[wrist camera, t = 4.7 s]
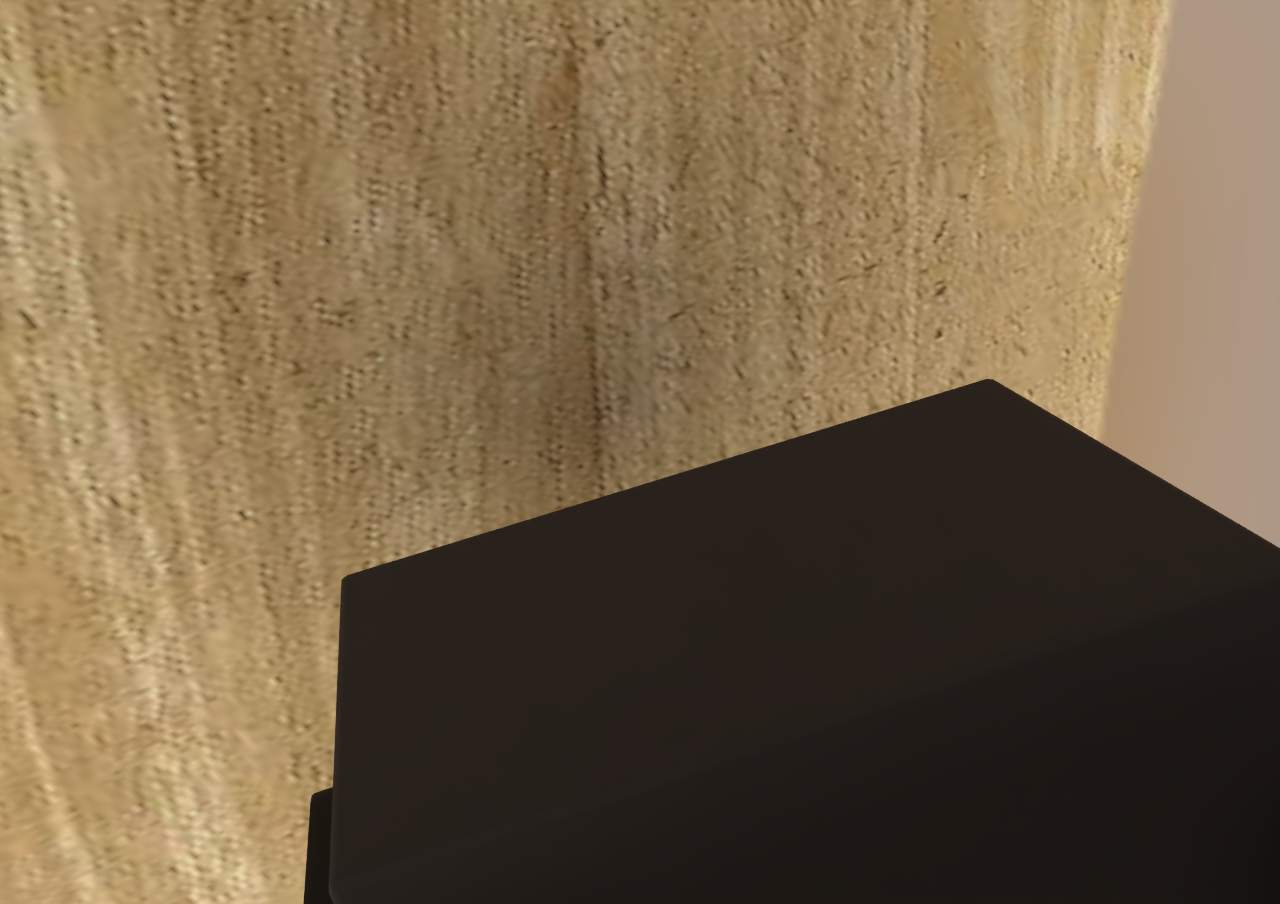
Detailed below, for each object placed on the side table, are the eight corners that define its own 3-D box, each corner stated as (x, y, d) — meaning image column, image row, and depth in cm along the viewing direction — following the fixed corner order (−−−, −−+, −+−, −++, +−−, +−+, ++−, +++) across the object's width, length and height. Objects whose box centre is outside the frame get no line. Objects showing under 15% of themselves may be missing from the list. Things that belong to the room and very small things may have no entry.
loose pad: (338, 573, 10) (324, 889, 7) (991, 374, 11) (1309, 559, 7) (525, 1072, 13) (592, 1514, 9) (1056, 882, 13) (1323, 1219, 10)
